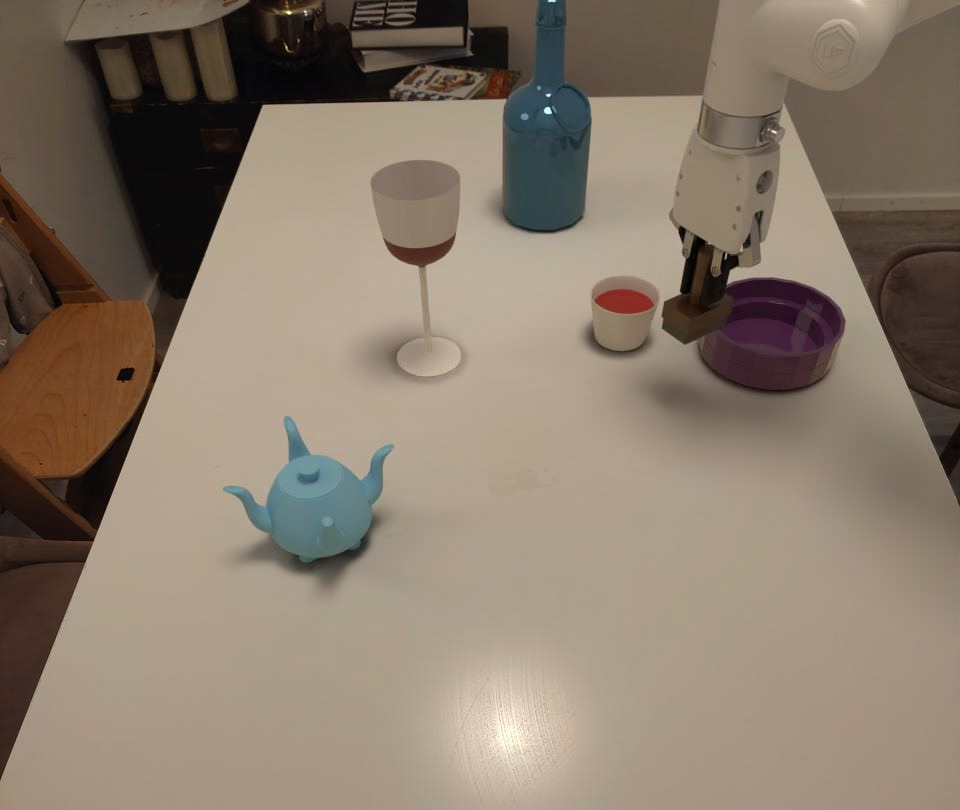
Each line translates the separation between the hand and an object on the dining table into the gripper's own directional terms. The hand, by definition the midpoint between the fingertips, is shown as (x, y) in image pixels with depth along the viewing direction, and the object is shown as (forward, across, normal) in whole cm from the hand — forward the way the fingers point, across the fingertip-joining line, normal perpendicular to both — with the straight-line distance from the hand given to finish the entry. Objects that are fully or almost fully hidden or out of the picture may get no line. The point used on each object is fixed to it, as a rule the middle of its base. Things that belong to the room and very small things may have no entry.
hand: (701, 294), depth 97 cm
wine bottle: (+14, +46, -14) cm, 50 cm away
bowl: (+14, 0, -15) cm, 20 cm away
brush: (+4, 0, 0) cm, 4 cm away
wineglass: (+14, +26, +21) cm, 36 cm away
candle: (+14, +14, -2) cm, 20 cm away
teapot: (+14, +6, +48) cm, 50 cm away
